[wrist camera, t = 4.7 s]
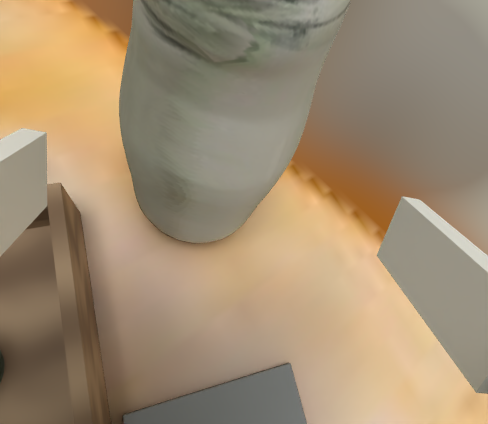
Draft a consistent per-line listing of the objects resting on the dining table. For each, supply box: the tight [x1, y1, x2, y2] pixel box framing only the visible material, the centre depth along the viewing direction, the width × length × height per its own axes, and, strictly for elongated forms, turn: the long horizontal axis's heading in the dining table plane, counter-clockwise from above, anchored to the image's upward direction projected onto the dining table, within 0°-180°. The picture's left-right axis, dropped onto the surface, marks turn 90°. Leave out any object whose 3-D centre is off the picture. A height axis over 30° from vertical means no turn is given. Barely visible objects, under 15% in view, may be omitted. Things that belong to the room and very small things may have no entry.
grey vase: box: [119, 0, 351, 243], centre depth 23 cm, size 10×10×28 cm
